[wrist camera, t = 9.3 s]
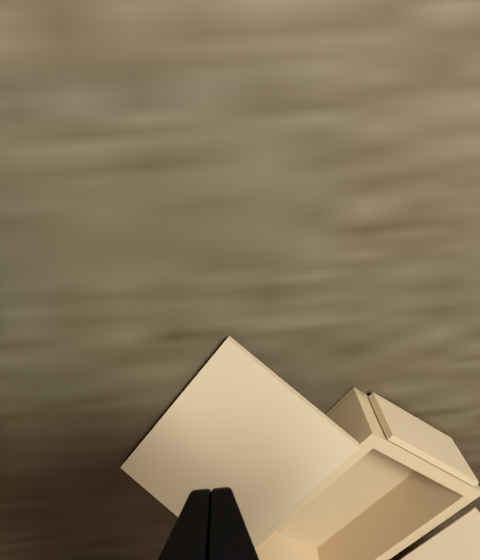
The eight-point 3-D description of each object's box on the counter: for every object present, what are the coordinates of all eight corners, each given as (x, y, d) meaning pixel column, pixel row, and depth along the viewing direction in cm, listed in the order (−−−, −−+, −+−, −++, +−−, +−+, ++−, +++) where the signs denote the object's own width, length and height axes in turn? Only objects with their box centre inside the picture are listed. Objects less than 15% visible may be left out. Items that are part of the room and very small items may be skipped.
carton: (111, 474, 27) (95, 530, 24) (243, 313, 22) (246, 357, 18) (312, 554, 32) (323, 610, 29) (459, 440, 27) (492, 492, 24)
